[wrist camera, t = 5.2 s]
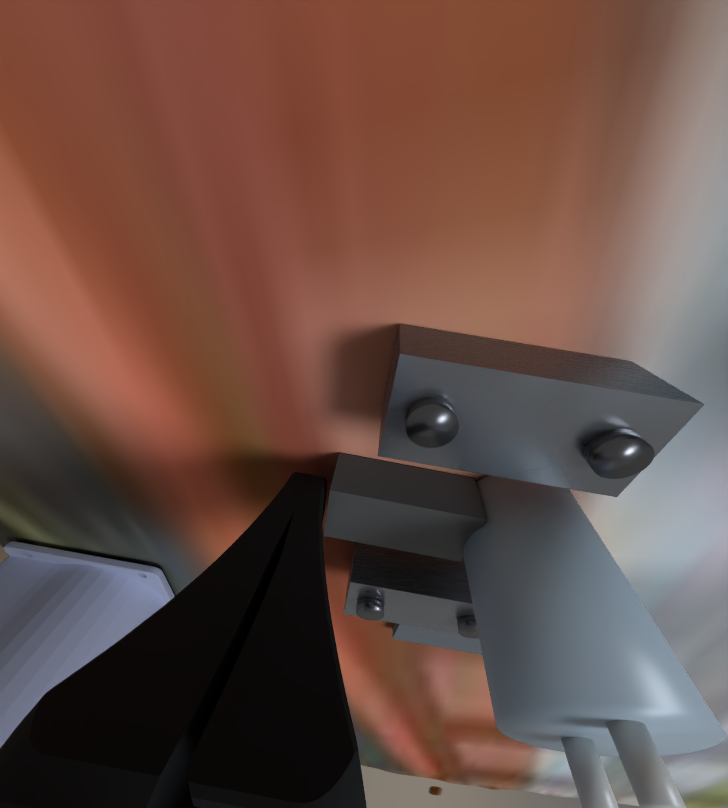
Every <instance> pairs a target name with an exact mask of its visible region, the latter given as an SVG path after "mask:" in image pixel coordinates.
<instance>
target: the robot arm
mask: <svg viewBox="0 0 728 808" xmlns="http://www.w3.org/2000/svg"><path fill="white" fill-rule="evenodd" d="M326 489H327V479H326V478H325V477H322V476H317V475H311V474H305V473H299V472H295V473H293V474H292V475H291V477H290V478H289V480H288V481H287V482H286V484H285V485H284V486H283V488H282V489H281V490H280V492H279V493H278V494H277V495H276V497H275V498H274V499H273V500H272V501H271V503H270V504H269V505H268V506H267V507H266V508H265V510H264V511H263V512H262V513H261V514H260V515H259V517H258V518H257V519H256V520H255V521H254V522H253V523H252V524H251V525H250V527H249V528H248V529H247V530H246V531H245V532H244V533H243V534H242V535H241V536H240V537H239V538H238V539H237V540H236V541H235V542H234V543H233V544H232V545H231V546H230V547H229V548H228V549H227V550H226V551H225V552H224V553H223V554H222V555H221V556H220V557H219V558H218V559H217V560H216V561H215V562H214V563H213V564H211V565H210V566H209V567H208V568H207V569H206V570H205V571H204V572H203V573H202V574H201V575H199V576H198V577H197V578H196V579H195V580H194V581H192V582H191V583H190V584H189V585H188V586H187V587H185V588H184V589H183V590H182V591H181V592H180V593H179V594H177V595H176V596H174V594H173V592H172V589H171V587H170V585H169V583H168V581H167V579H166V577H165V575H164V573H163V571H162V570H161V569H159V568H157V567H154V566H149V565H143V564H137V563H132V562H126V561H121V560H115V559H110V558H104V557H99V556H93V555H87V554H82V553H76V552H71V551H65V550H60V549H54V548H48V547H43V546H37V545H32V544H26V543H21V542H15V541H12V542H9V543H8V544H7V545H5V546H4V547H3V549H4V551H5V552H6V553H7V554H8V555H9V557H8V558H7V559H5V560H4V561H3V562H2V563H1V564H0V808H366V800H365V793H364V786H363V780H362V772H361V766H360V759H359V753H358V746H357V740H356V736H355V732H354V728H353V723H352V719H351V715H350V710H349V706H348V702H347V697H346V693H345V688H344V683H343V678H342V674H341V669H340V664H339V659H338V653H337V648H336V642H335V637H334V631H333V626H332V620H331V613H330V606H329V600H328V592H327V584H326V575H325V565H324V553H323V531H322V522H323V516H324V511H325V501H326Z"/></svg>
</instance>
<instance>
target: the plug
mask: <svg viewBox="0 0 728 808" xmlns="http://www.w3.org/2000/svg"><path fill="white" fill-rule="evenodd" d="M324 536H327V537H332V538H337V539H343V540H348V541H353V542H359V543H364V544H369V545H374V546H380V547H385V548H390V549H396V550H401V551H406V552H411V553H417V554H422V555H427V556H433V557H438V558H443V559H448V560H454V561H459V562H460V560H461V559H462V557H464V562H465V567H466V573H467V578H468V583H469V588H470V593H471V598H472V603H473V609H474V614H475V619H476V624H477V629H478V634H479V639H480V645H481V650H482V655H483V660H484V665H485V670H486V675H487V681H488V686H489V691H490V696H491V701H492V706H493V711H494V716H495V722H496V726H497V728H498V730H499V731H500V732H501V733H503V734H504V735H506V736H508V737H510V738H512V739H514V740H517V741H519V742H522V743H526V744H529V745H533V746H537V747H541V748H546V749H551V750H556V751H562V752H565V754H566V757H567V760H568V763H569V766H570V769H571V773H572V776H573V779H574V782H575V785H576V788H577V792H578V795H579V798H580V801H581V804H582V807H583V808H618V805H617V802H616V799H615V797H614V794H613V791H612V789H611V786H610V783H609V781H608V778H607V775H606V773H605V770H604V767H603V765H602V762H601V760H600V757H599V756H619V757H620V759H621V762H622V764H623V767H624V769H625V771H626V774H627V776H628V779H629V781H630V783H631V786H632V788H633V791H634V793H635V795H636V798H637V800H638V803H639V805H640V806H642V807H646V808H686V806H685V804H684V802H683V800H682V798H681V796H680V794H679V792H678V790H677V788H676V786H675V784H674V782H673V780H672V778H671V776H670V774H669V772H668V770H667V768H666V766H665V764H664V762H663V759H662V757H661V756H665V755H675V754H683V753H689V752H695V751H699V750H704V749H707V748H710V747H713V746H715V745H717V744H719V743H720V742H721V741H723V740H724V738H725V731H724V730H723V728H722V727H721V725H720V724H719V722H718V721H717V719H716V717H715V716H714V714H713V713H712V711H711V710H710V708H709V707H708V705H707V703H706V702H705V700H704V699H703V697H702V696H701V694H700V693H699V691H698V689H697V688H696V686H695V685H694V683H693V682H692V680H691V678H690V677H689V675H688V674H687V672H686V671H685V669H684V668H683V666H682V664H681V663H680V661H679V660H678V658H677V657H676V655H675V654H674V652H673V650H672V649H671V647H670V646H669V644H668V643H667V641H666V639H665V638H664V636H663V635H662V633H661V632H660V630H659V629H658V627H657V625H656V624H655V622H654V621H653V619H652V618H651V616H650V615H649V613H648V611H647V610H646V608H645V607H644V605H643V604H642V602H641V601H640V599H639V597H638V596H637V594H636V593H635V591H634V590H633V588H632V586H631V585H630V583H629V582H628V580H627V579H626V577H625V576H624V574H623V572H622V571H621V569H620V568H619V566H618V565H617V563H616V562H615V560H614V558H613V557H612V555H611V554H610V552H609V551H608V549H607V548H606V546H605V544H604V543H603V541H602V540H601V538H600V537H599V535H598V533H597V532H596V530H595V529H594V527H593V526H592V524H591V523H590V521H589V519H588V518H587V516H586V515H585V513H584V512H583V510H582V509H581V507H580V505H579V504H578V502H577V501H576V499H575V498H574V496H573V494H572V493H571V491H570V490H569V489H567V488H561V487H556V486H550V485H544V484H538V483H532V482H526V481H521V480H515V479H509V478H503V477H497V476H492V475H489V476H487V477H484V478H482V479H480V480H478V481H476V482H475V479H474V478H471V477H465V476H460V475H455V474H449V473H444V472H439V471H434V470H428V469H423V468H418V467H412V466H407V465H402V464H396V463H391V462H386V461H381V460H375V459H370V458H365V457H359V456H354V455H349V454H343V453H339V456H338V460H337V464H336V468H335V472H334V476H333V480H332V483H331V487H330V492H329V500H328V507H327V514H326V522H325V529H324Z"/></svg>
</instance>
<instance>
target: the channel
mask: <svg viewBox="0 0 728 808" xmlns="http://www.w3.org/2000/svg"><path fill="white" fill-rule="evenodd" d="M703 405H704V404H703V403H701V402H699V401H698V400H696V399H694V398H693V397H691V396H689V395H688V394H686V393H684V392H683V391H681V390H679V389H678V388H676V387H674V386H672V385H671V384H669V383H667V382H666V381H664V380H662V379H661V378H659V377H657V376H656V375H654V374H652V373H651V372H649V371H647V370H645V369H644V368H642V367H640V366H639V365H637V364H635V363H634V362H631V361H625V360H619V359H613V358H607V357H601V356H594V355H588V354H582V353H576V352H570V351H564V350H558V349H552V348H546V347H540V346H534V345H528V344H521V343H515V342H509V341H503V340H497V339H491V338H485V337H479V336H473V335H467V334H461V333H455V332H448V331H442V330H436V329H430V328H424V327H418V326H412V325H406V324H399V329H398V334H397V339H396V344H395V349H394V354H393V359H392V364H391V369H390V374H389V378H388V383H387V388H386V393H385V398H384V403H383V408H382V415H381V426H380V437H379V448H378V456H381V457H387V458H393V459H398V460H404V461H410V462H416V463H422V464H427V465H433V466H439V467H445V468H451V469H457V470H462V471H468V472H474V473H480V474H486V475H492V476H497V477H503V478H509V479H515V480H521V481H526V482H532V483H538V484H544V485H550V486H556V487H561V488H567V489H573V490H579V491H585V492H591V493H596V494H602V495H608V496H614V497H617V496H618V495H619V494H620V493H621V492H622V491H623V490H624V489H625V488H626V487H627V486H628V485H629V484H630V483H631V482H632V480H633V479H634V478H635V477H636V476H637V475H638V474H639V473H640V472H641V471H642V470H644V469H645V468H646V467H647V466H648V465H649V464H650V463H651V462H652V460H653V458H654V457H655V456H656V455H657V454H658V453H659V452H660V451H661V450H662V449H663V448H664V447H665V445H666V444H667V443H668V442H669V441H670V440H671V439H672V438H673V437H674V436H675V435H676V434H677V433H678V432H679V431H680V430H681V428H682V427H683V426H684V425H685V424H686V423H687V422H688V421H689V420H690V419H691V418H692V417H693V416H694V415H695V414H696V413H697V412H698V410H699V409H700V408H701V407H702V406H703ZM344 614H347V615H353V616H358V617H361V618H363V619H366V620H381V621H386V622H392V623H397V624H403V625H408V626H414V627H419V628H425V629H430V630H436V631H442V632H447V633H453V634H458V635H461V636H463V637H466V638H472V639H478V638H479V634H478V629H477V624H476V619H475V614H474V609H473V603H472V598H471V593H470V588H469V583H468V578H467V573H466V567H465V562H464V557H462V559H461V560H460V562H459V561H454V560H448V559H443V558H438V557H433V556H427V555H422V554H417V553H411V552H406V551H401V550H396V549H390V548H385V547H380V546H374V545H369V544H364V543H359V542H355V546H354V550H353V555H352V560H351V565H350V572H349V579H348V586H347V593H346V600H345V607H344Z"/></svg>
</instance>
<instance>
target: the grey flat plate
mask: <svg viewBox="0 0 728 808" xmlns="http://www.w3.org/2000/svg"><path fill="white" fill-rule="evenodd" d="M393 639H398V640H403V641H409V642H414V643H420V644H425V645H431V646H436V647H442V648H447V649H453V650H458V651H464V652H469V653H475V654H481V655H482V650H481V645H480V639H479V638H478V639H472V638H466V637H463V636H461V635H458V634H453V633H447V632H442V631H436V630H430V629H425V628H419V627H414V626H408V625H403V624H397V623H395V624H394V626H393Z"/></svg>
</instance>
